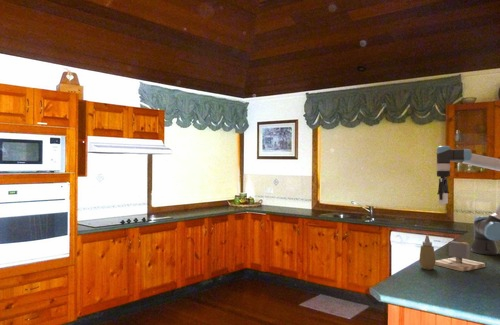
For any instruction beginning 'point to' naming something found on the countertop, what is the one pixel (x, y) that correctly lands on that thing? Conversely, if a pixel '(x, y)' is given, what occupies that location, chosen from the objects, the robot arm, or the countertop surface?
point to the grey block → (459, 249)
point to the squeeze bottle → (427, 255)
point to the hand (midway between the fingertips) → (443, 204)
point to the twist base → (459, 264)
